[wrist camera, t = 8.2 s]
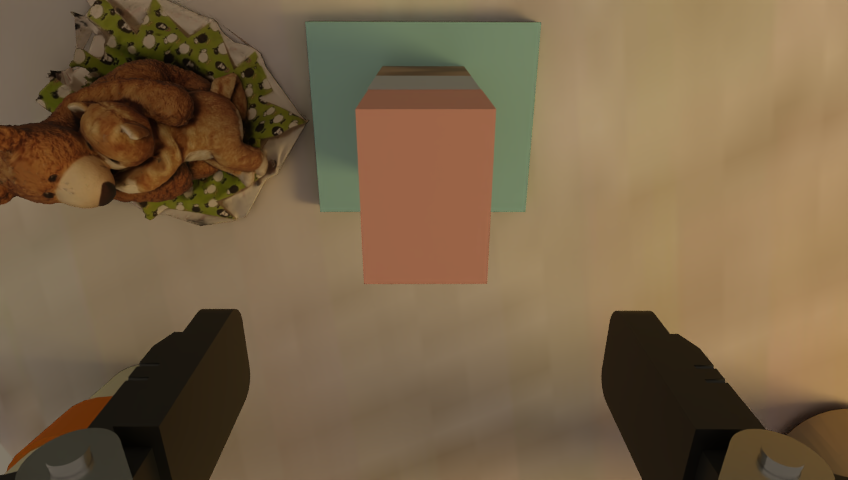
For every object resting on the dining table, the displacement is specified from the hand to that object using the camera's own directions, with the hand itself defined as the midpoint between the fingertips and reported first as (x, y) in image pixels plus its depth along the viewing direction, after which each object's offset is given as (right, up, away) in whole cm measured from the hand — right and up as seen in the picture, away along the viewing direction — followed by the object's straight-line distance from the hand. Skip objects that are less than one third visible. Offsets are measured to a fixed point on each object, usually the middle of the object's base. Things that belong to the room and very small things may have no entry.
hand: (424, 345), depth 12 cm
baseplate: (0, +10, +24) cm, 26 cm away
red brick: (0, +6, +13) cm, 14 cm away
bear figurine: (-16, +10, +24) cm, 31 cm away
